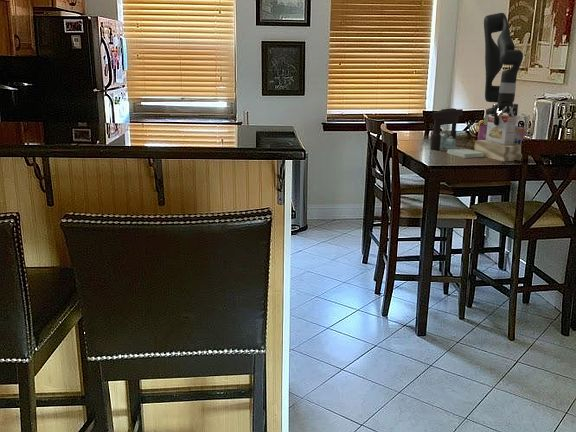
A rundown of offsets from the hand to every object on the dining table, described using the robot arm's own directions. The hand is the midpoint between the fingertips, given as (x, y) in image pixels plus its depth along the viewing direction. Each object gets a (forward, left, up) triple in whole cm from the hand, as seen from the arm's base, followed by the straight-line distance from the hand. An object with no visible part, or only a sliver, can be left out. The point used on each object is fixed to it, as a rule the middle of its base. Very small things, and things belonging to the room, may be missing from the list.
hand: (503, 125), depth 285 cm
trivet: (+14, -9, -16) cm, 23 cm away
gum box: (-12, -15, -16) cm, 25 cm away
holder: (0, 0, -16) cm, 16 cm away
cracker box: (+1, -1, -16) cm, 16 cm away
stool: (+9, -33, -16) cm, 38 cm away
